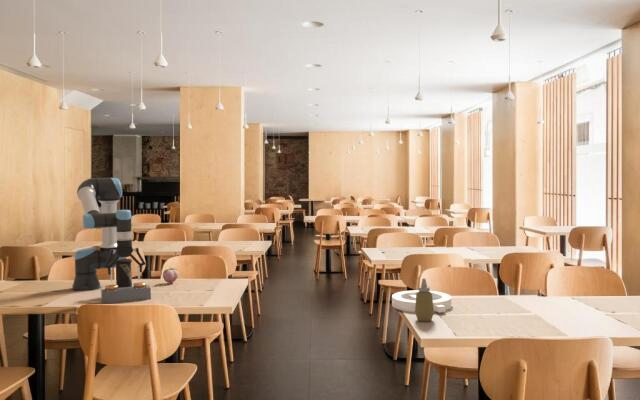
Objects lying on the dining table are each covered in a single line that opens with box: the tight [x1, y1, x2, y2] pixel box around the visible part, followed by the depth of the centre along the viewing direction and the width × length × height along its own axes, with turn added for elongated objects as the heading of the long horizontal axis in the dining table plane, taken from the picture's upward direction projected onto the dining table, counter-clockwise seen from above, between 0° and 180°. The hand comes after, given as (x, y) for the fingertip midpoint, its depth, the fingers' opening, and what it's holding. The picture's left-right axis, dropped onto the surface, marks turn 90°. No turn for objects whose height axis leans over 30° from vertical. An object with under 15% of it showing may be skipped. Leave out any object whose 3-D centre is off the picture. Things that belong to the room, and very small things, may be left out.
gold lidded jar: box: [132, 281, 147, 289], centre depth 286 cm, size 6×6×7 cm
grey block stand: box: [100, 284, 152, 304], centre depth 284 cm, size 24×8×6 cm, turn 114°
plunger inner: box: [104, 284, 118, 291], centre depth 281 cm, size 6×6×7 cm
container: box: [115, 258, 133, 288], centre depth 296 cm, size 9×9×20 cm
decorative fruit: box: [162, 267, 179, 284], centre depth 328 cm, size 9×8×10 cm
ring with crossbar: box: [391, 289, 452, 313], centre depth 259 cm, size 28×28×5 cm
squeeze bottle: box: [414, 278, 435, 323], centre depth 232 cm, size 8×8×18 cm
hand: (125, 279), depth 284 cm, fingers open, 13 cm apart
